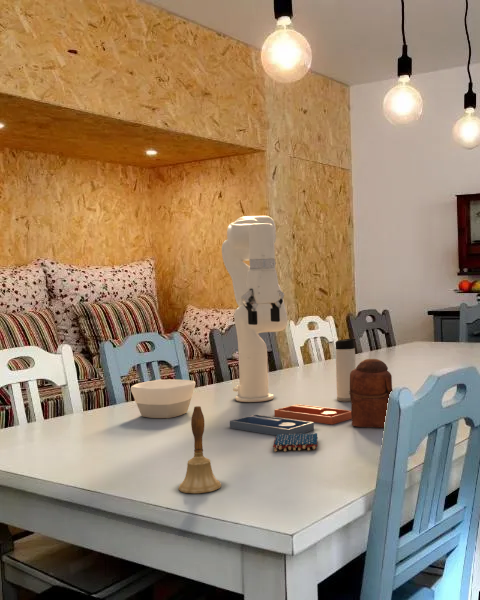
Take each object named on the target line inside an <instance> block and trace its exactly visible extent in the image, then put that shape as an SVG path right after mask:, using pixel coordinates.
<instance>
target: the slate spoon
mask: <svg viewBox="0 0 480 600" xmlns="http://www.w3.org/2000/svg"><path fill="white" fill-rule="evenodd" d="M248 416H249V417H248V423H251V424H258V425H265V426H271V427H278V428H285V429H290V428H294V427H295V423H282V420H279V419H272V418H265V417H258V416H251V415H248Z"/></svg>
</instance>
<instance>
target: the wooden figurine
mask: <svg viewBox="0 0 480 600" xmlns="http://www.w3.org/2000/svg"><path fill="white" fill-rule="evenodd" d="M392 377H393V376H392V374H391V372H390V371H389V368H388V365H387V364H386V363H385V362H384V361H382V360H381V359H377V358H366V359H364V360H362V361H360V362H359V363H358V365H356V369H354V370H352V371H351V373H350V399H351V401H350V403H351V406H350V407H351V408H350V409H351V410H350V411H351V414H352V419H351V426H353V427H357V428H378V429H379V428H383V429H385V428H384V422H385V416H386V410H387V403H388V398H389V394H390V392H391V391H392V392H393V380H392V379H393V378H392Z"/></svg>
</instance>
